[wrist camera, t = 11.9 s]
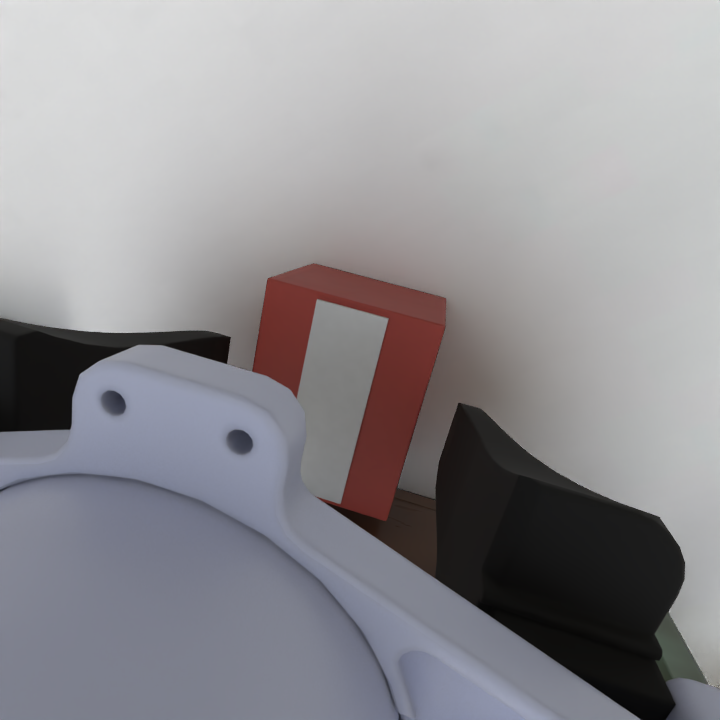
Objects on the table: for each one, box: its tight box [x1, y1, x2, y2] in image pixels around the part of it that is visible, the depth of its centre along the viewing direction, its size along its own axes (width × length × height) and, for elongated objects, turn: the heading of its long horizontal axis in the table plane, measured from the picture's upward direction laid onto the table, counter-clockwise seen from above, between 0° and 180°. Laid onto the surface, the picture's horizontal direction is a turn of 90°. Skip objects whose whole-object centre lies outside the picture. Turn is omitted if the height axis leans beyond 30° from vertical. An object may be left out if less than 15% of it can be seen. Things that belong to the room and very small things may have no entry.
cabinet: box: [324, 489, 437, 578], centre depth 18 cm, size 13×11×7 cm
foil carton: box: [252, 263, 446, 521], centre depth 15 cm, size 6×5×5 cm
